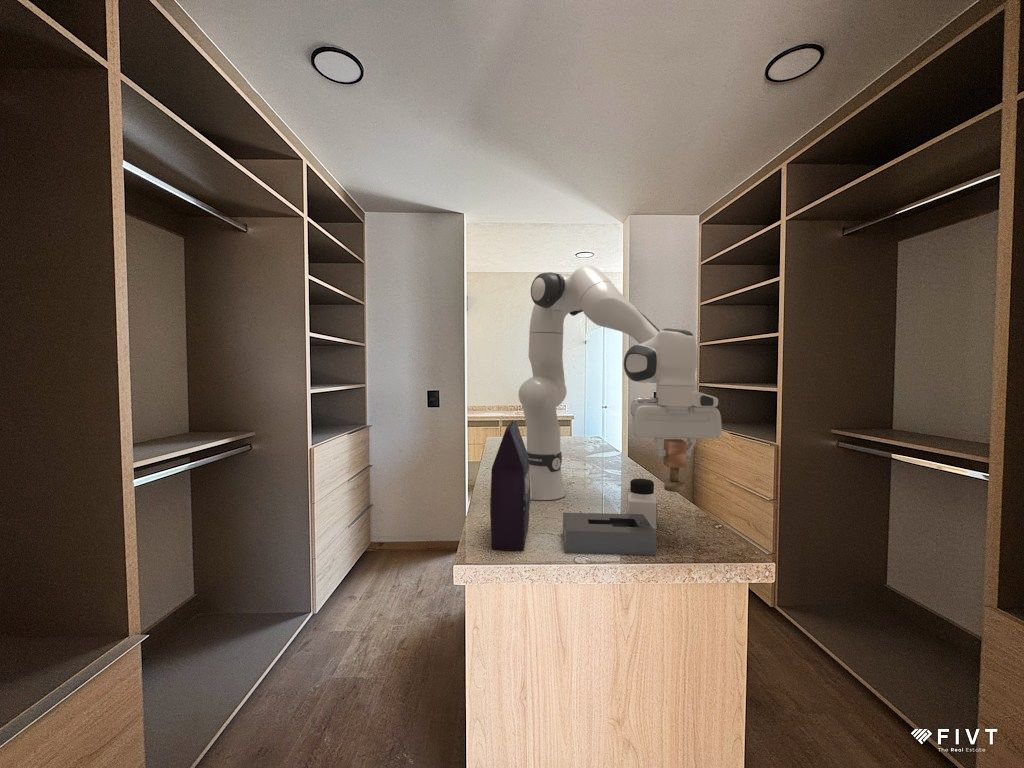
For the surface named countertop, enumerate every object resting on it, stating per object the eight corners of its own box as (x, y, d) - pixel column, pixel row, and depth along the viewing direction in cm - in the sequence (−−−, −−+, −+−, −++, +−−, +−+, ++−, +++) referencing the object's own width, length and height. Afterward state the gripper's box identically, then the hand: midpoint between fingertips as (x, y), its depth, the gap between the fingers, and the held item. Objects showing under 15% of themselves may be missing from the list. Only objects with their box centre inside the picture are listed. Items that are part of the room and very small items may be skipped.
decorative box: (530, 527, 118) (530, 420, 117) (525, 552, 102) (525, 428, 101) (499, 525, 119) (499, 420, 118) (489, 550, 102) (489, 428, 102)
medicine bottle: (656, 529, 116) (657, 483, 116) (628, 527, 118) (629, 482, 117) (653, 520, 123) (654, 477, 123) (627, 518, 125) (627, 475, 124)
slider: (667, 491, 104) (668, 441, 103) (661, 486, 108) (662, 438, 108) (686, 492, 104) (687, 442, 103) (680, 487, 108) (681, 439, 108)
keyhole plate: (565, 552, 101) (565, 530, 101) (562, 531, 114) (562, 512, 114) (656, 555, 100) (656, 533, 100) (642, 534, 113) (643, 514, 113)
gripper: (634, 398, 102) (633, 458, 103) (725, 399, 102) (724, 460, 102) (627, 396, 109) (627, 453, 109) (713, 397, 108) (712, 454, 109)
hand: (674, 456), depth 106 cm, fingers closed on slider, 4 cm apart
